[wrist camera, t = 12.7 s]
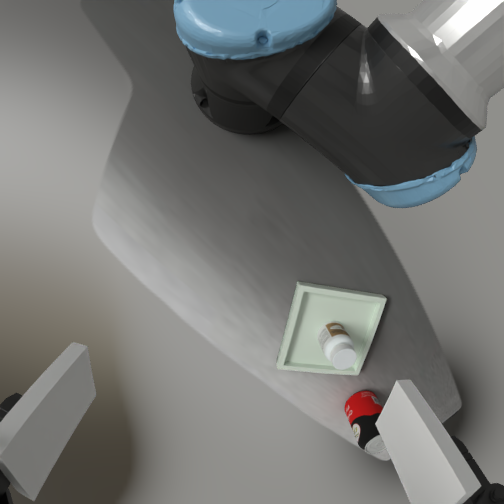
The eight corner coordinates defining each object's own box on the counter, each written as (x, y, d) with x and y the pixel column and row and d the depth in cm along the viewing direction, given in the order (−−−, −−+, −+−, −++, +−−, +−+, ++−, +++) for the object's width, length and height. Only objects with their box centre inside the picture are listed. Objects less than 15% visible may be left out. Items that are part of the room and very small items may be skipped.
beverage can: (360, 383, 47) (383, 427, 35) (380, 394, 47) (404, 436, 36) (336, 405, 48) (353, 451, 36) (357, 416, 48) (376, 459, 37)
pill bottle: (348, 325, 43) (366, 350, 36) (335, 348, 44) (349, 375, 36) (325, 316, 43) (339, 341, 35) (311, 340, 44) (322, 368, 36)
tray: (297, 280, 42) (299, 285, 40) (382, 294, 43) (386, 298, 41) (276, 362, 45) (277, 368, 43) (354, 369, 46) (358, 375, 44)
